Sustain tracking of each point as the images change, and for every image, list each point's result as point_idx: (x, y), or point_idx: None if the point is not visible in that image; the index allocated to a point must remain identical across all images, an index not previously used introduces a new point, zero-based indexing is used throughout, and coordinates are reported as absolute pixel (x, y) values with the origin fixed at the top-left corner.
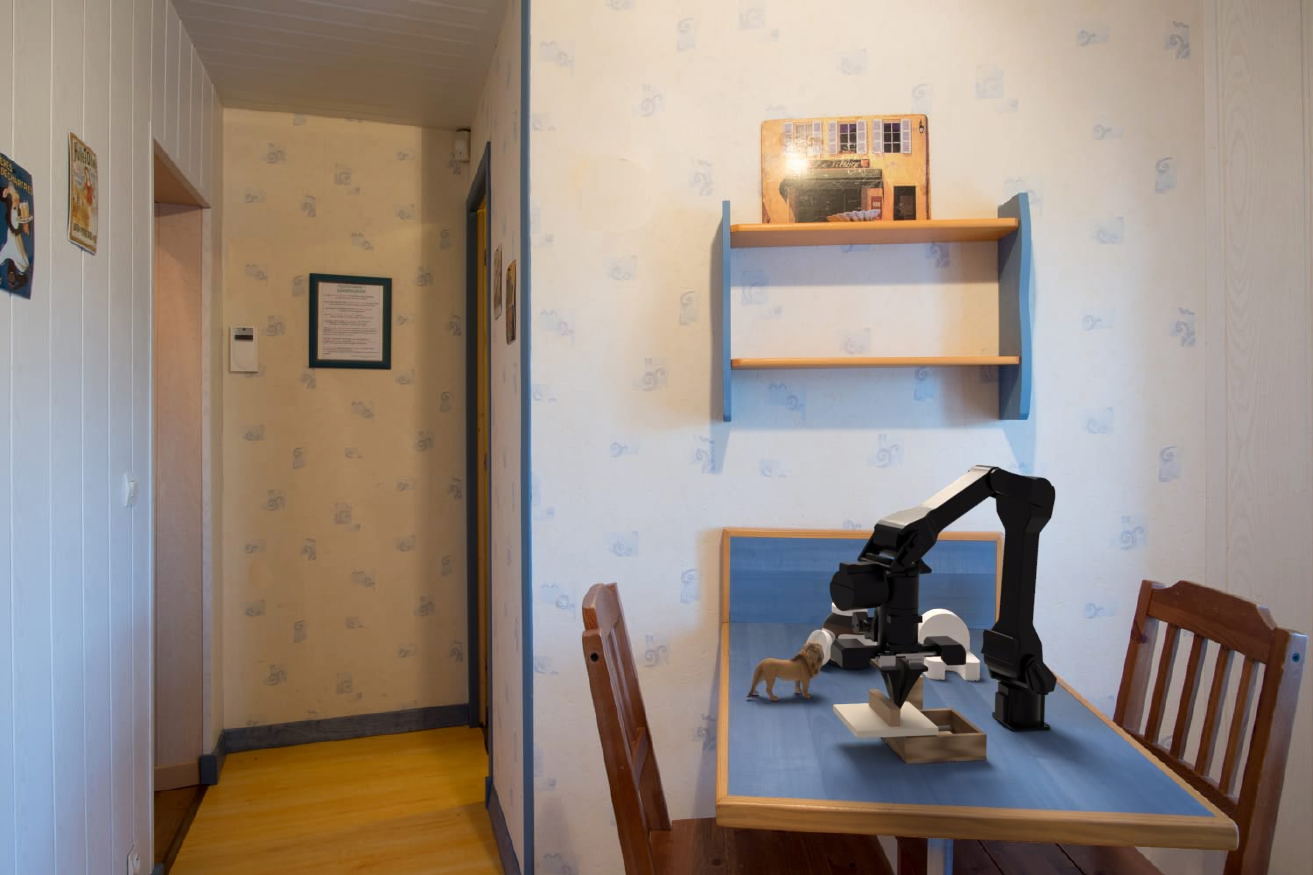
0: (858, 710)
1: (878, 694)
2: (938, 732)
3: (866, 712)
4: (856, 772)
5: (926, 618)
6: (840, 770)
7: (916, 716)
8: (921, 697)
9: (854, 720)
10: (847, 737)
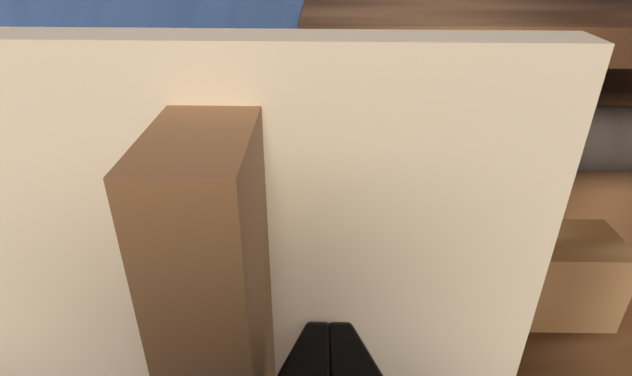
0: (52, 196)
1: (183, 318)
2: (568, 270)
3: (114, 234)
4: None
5: None
6: None
7: (465, 327)
8: None
9: (5, 338)
10: (98, 14)
